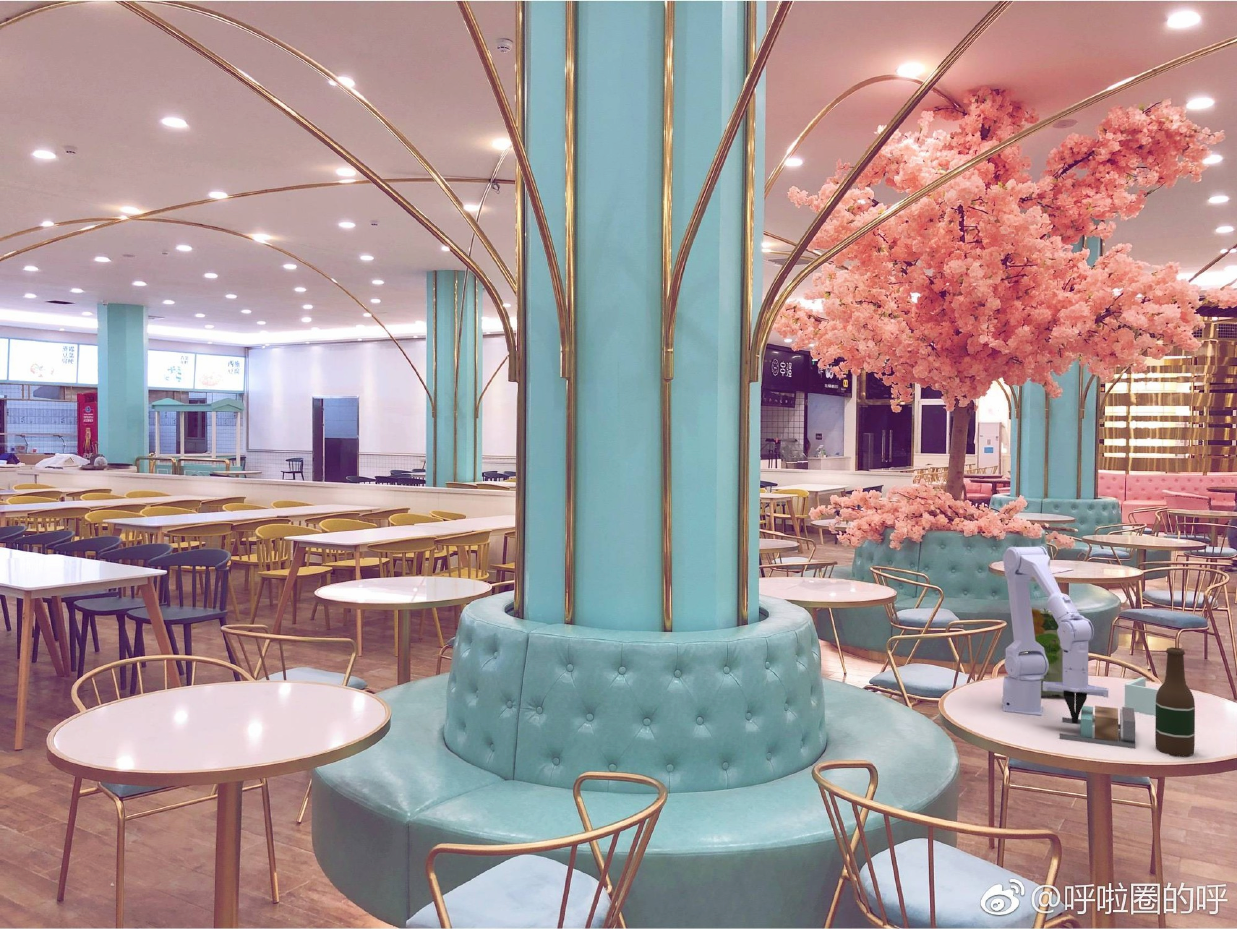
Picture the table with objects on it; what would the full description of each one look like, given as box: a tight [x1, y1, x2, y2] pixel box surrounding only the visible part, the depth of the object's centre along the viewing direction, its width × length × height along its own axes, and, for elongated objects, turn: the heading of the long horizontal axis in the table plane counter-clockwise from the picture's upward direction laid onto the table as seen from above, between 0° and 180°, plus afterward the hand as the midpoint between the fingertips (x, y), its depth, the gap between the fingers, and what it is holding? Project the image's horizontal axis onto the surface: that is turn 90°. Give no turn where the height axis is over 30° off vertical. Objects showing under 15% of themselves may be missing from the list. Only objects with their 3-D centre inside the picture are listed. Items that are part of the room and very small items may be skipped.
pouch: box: [1027, 606, 1064, 698], centre depth 264 cm, size 11×12×25 cm
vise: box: [1059, 706, 1136, 750], centre depth 227 cm, size 16×16×6 cm
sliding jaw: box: [1080, 705, 1095, 738], centre depth 228 cm, size 3×13×5 cm, turn 152°
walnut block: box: [1094, 705, 1119, 741], centre depth 226 cm, size 5×10×6 cm, turn 152°
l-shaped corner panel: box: [1124, 676, 1159, 717], centre depth 248 cm, size 12×12×8 cm
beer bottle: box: [1154, 647, 1196, 758], centre depth 214 cm, size 8×8×24 cm
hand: (1075, 722), depth 229 cm, fingers closed
